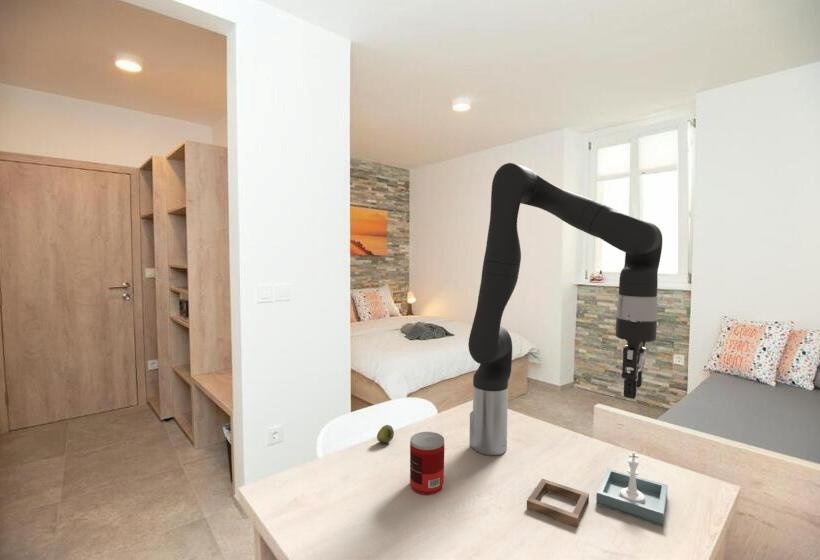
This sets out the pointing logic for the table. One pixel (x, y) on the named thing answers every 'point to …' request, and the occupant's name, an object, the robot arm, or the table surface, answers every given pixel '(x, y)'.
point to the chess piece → (632, 483)
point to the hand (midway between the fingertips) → (632, 391)
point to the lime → (385, 434)
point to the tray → (647, 511)
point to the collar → (553, 511)
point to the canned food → (427, 462)
